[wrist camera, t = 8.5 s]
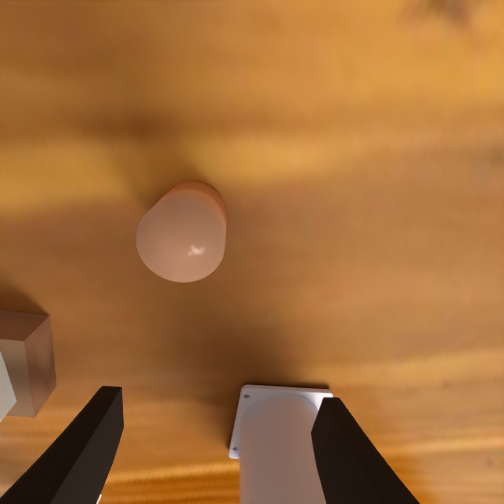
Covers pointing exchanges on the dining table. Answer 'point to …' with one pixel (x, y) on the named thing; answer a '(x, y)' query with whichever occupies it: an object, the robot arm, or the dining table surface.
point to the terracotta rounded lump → (184, 233)
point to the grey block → (5, 391)
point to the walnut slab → (28, 359)
